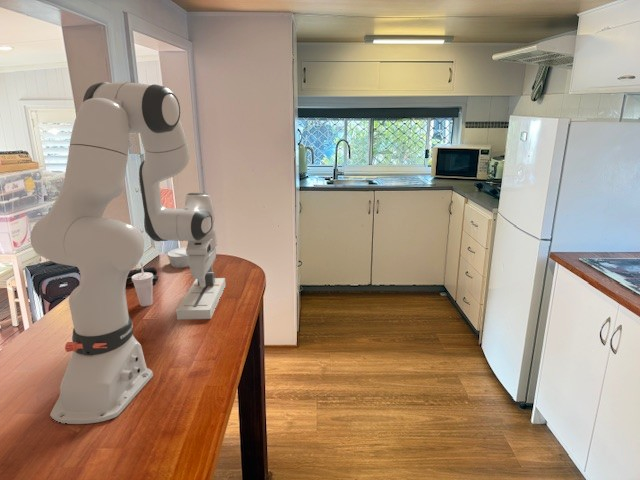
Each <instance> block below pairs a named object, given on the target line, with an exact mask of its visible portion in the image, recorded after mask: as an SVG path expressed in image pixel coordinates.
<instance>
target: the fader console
mask: <svg viewBox="0 0 640 480" xmlns="http://www.w3.org/2000/svg"><path fill="white" fill-rule="evenodd" d="M224 288H225V289H226V278H225V277H217V278H216V277H215V283H214V285H213V286H205V287H200V286H198V280H197V279H194V281H193V283H192V284H191V286H190V287H189V289H188V290H187V293H186V294H185V295H184V297H183V299H182V300H181V302H180V303H179V305H178V307H177V308H176V309H175V313H176V314H175V315H176V320H211V319H212V317H213V316H214V313H215V310H216V309H215V308H217V306H218V304H219V302H220V300H221V298H222V295H223V293H224V291H225V289H224ZM223 290H224V291H223ZM220 297H221V298H220ZM219 299H220V300H219Z"/></svg>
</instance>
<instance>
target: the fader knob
mask: <svg viewBox="0 0 640 480" xmlns="http://www.w3.org/2000/svg"><path fill="white" fill-rule="evenodd" d="M215 278H216V276H215V271H214V270H212V271H208V272H207V274H206V275H205V281H206V286H213V285H214V283H215ZM197 280H198V279H197ZM198 286H200V284H199V281H198Z"/></svg>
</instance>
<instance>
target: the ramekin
mask: <svg viewBox="0 0 640 480" xmlns="http://www.w3.org/2000/svg"><path fill="white" fill-rule="evenodd" d="M186 248H187V246H185V247H183V246H182V247H178V248H177V247H176V248H174V249H171V250H169V251H168V252H167V258H168V260H169V264H170V266H172V267H173V268H177V269H184V268H190V266H189V255H187V254H186Z"/></svg>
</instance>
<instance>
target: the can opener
mask: <svg viewBox="0 0 640 480" xmlns="http://www.w3.org/2000/svg"><path fill="white" fill-rule="evenodd" d="M143 271H144V272H149V273H152V274H153V279H152V282H153V283H152V285H153V284H155V283H156V282H158V280H159V276H158V275H157V272H158V269H157V268H156V267H153V266H151V267H143ZM138 273H142V270H141V268H135V269H133V270H130V272H129V274H128V276H127V280H126V285H127V284H131V283H133V281H132V276H133V275H135V274H138Z"/></svg>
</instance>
